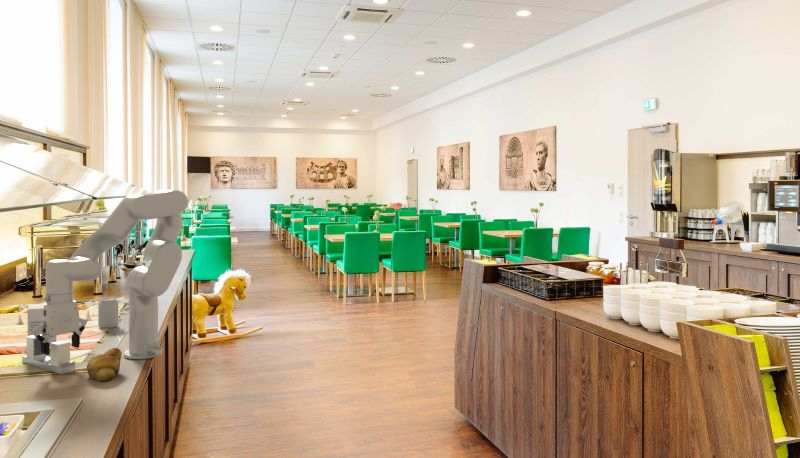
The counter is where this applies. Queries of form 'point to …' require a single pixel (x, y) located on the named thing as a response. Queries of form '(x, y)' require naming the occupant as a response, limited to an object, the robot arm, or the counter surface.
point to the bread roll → (105, 365)
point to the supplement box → (36, 319)
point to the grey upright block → (108, 313)
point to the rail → (43, 358)
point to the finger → (59, 352)
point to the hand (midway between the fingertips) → (60, 350)
